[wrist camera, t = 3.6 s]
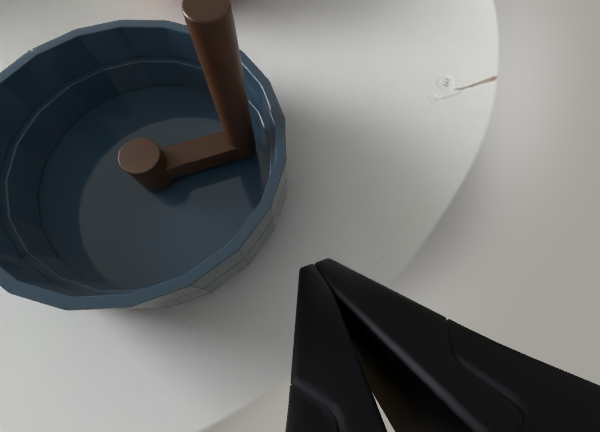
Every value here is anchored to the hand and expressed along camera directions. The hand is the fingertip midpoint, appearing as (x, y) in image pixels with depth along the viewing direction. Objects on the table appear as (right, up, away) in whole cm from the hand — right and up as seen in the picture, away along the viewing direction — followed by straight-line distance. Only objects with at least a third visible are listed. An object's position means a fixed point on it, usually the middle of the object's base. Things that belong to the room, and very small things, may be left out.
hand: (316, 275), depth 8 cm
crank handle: (-7, +5, +12) cm, 15 cm away
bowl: (-10, +4, +12) cm, 16 cm away
